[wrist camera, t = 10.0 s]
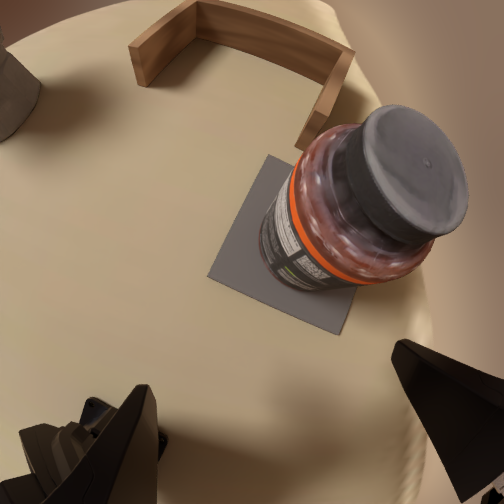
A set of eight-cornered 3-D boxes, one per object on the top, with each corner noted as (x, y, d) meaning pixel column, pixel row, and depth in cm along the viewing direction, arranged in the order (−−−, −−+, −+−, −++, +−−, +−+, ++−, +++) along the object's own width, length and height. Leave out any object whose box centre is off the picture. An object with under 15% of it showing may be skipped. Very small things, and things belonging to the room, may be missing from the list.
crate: (305, 151, 21) (328, 117, 16) (137, 84, 20) (127, 45, 16) (335, 84, 23) (355, 51, 18) (193, 30, 22) (193, -5, 18)
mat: (335, 334, 19) (338, 335, 19) (207, 276, 19) (207, 276, 18) (377, 216, 21) (380, 214, 21) (267, 156, 21) (268, 153, 20)
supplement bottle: (349, 208, 21) (472, 123, 8) (342, 298, 19) (494, 286, 7) (262, 188, 20) (331, 52, 7) (248, 284, 19) (325, 252, 6)
